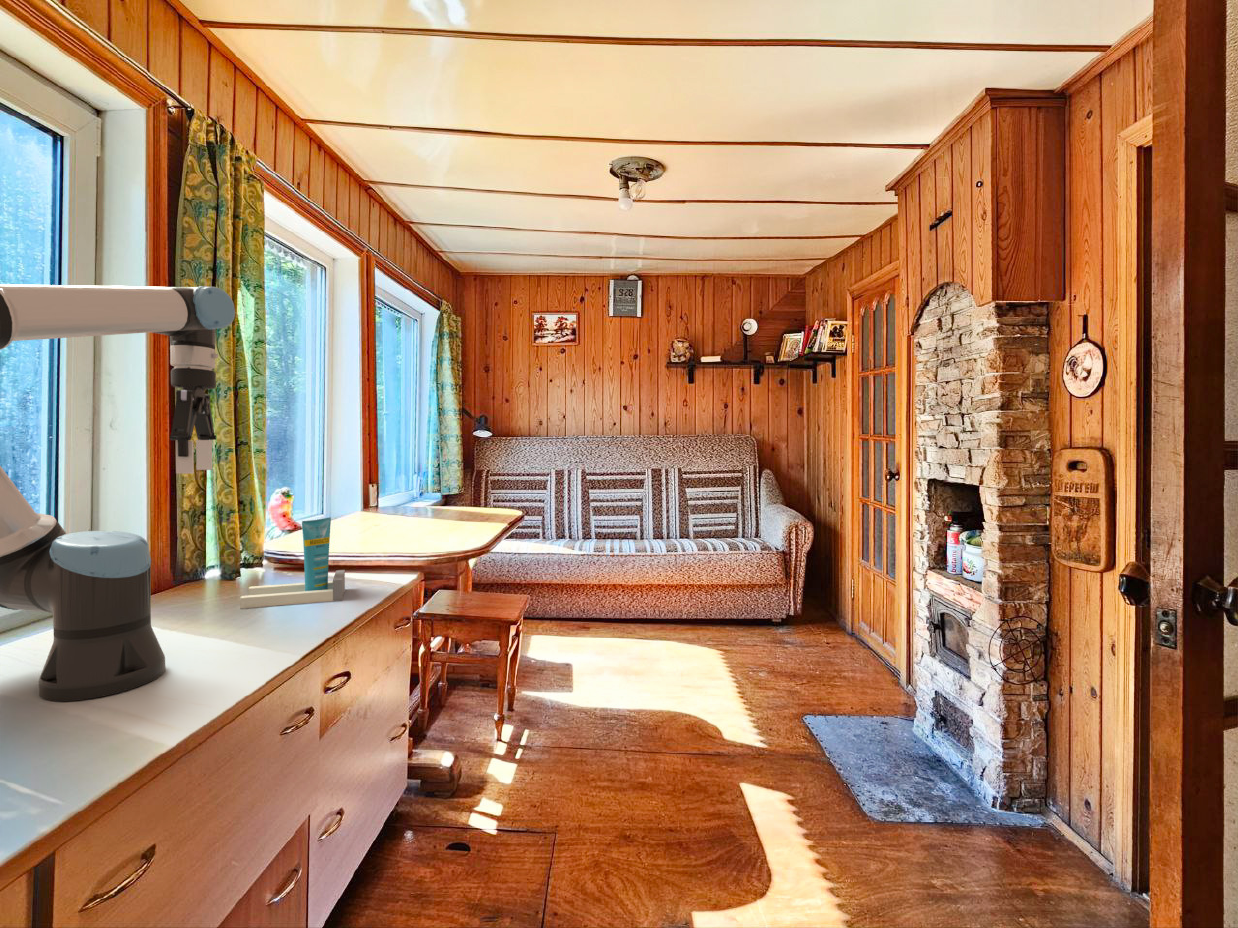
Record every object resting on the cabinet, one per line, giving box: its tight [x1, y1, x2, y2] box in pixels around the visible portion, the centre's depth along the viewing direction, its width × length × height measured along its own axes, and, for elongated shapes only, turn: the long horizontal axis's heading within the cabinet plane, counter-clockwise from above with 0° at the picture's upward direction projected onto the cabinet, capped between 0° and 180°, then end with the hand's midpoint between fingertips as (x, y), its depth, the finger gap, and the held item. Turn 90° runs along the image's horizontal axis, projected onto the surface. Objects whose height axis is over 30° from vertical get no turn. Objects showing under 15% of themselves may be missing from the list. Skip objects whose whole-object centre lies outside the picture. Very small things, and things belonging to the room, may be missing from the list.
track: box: [239, 569, 346, 610], centre depth 142 cm, size 11×21×5 cm, turn 112°
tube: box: [301, 517, 332, 591], centre depth 144 cm, size 7×5×19 cm, turn 156°
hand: (195, 471), depth 122 cm, fingers open, 13 cm apart
